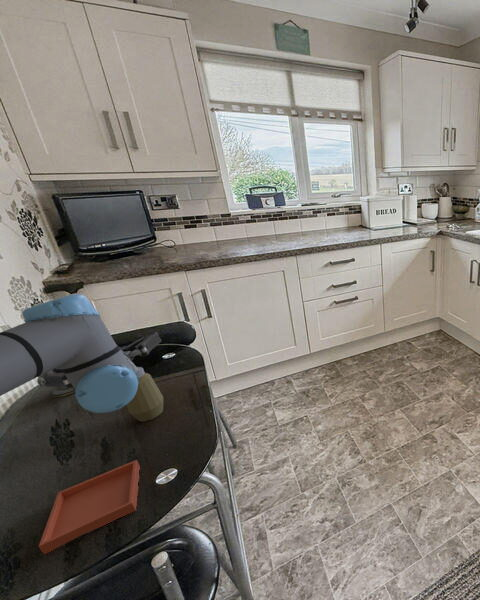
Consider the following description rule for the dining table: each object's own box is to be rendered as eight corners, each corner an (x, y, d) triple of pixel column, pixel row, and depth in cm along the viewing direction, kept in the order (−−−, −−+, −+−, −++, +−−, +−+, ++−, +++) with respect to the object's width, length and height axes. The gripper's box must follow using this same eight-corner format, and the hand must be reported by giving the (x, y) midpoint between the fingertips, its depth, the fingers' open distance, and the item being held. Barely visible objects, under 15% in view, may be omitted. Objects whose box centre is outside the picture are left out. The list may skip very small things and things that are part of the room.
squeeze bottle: (126, 422, 90) (99, 366, 83) (154, 403, 97) (131, 350, 91) (147, 427, 87) (121, 369, 81) (174, 407, 94) (152, 353, 88)
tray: (44, 555, 58) (38, 546, 57) (62, 500, 68) (57, 492, 67) (136, 511, 64) (132, 502, 63) (140, 467, 75) (136, 459, 74)
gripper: (29, 426, 56) (45, 392, 72) (187, 356, 71) (172, 340, 87) (3, 389, 54) (25, 363, 70) (171, 325, 69) (159, 315, 85)
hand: (106, 350), depth 78 cm, fingers open, 13 cm apart
